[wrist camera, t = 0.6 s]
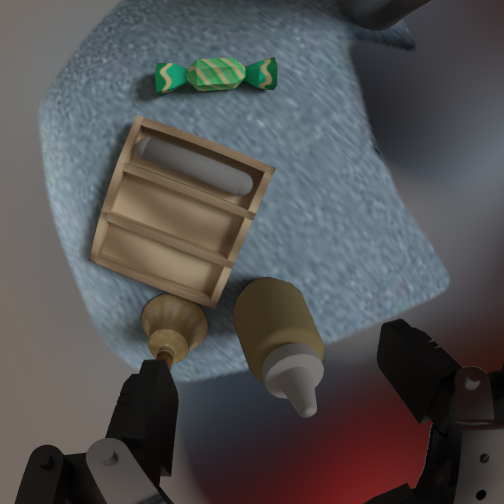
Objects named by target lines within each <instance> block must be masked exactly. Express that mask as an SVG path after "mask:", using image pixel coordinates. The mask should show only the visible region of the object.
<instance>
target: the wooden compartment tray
mask: <svg viewBox="0 0 504 504" xmlns="http://www.w3.org/2000/svg"><path fill="white" fill-rule="evenodd" d="M145 137H153V138H156V139H159V140H162V141H164V142H167V143H170V144H173V145H176V146H178V147H181V148H184V149H186V150H189V151H192V152H194V153H197V154H200V155H202V156H205V157H207V158H210V159H213V160H215V161H218V162H220V163H223V164H225V165H228V166H230V167H232V168H235V169H237V170H240V171H242V172H244V173H247V174H248V175H249V176H250V177H251V179H252V181H253V187H252V189H251V191H250V192H249V193H248V194H247V195H244V196H237V195H234V194H232V193H229V192H227V191H224V190H222V189H219V188H217V187H214V186H212V185H209V184H207V183H204V182H202V181H199V180H196V179H194V178H191V177H189V176H186V175H183V174H181V173H178V172H176V171H173V170H170V169H167V168H165V167H162V166H159V165H157V164H154V163H151V162H148V161H146V160H143V159H141V158H140V157H139V156H138V155H137V152H136V147H137V144H138V142H139V141H140V140H141V139H143V138H145ZM274 171H275V168H274V167H271V166H269V165H267V164H265V163H262V162H260V161H258V160H256V159H253V158H251V157H249V156H246V155H244V154H242V153H239V152H237V151H234V150H232V149H229V148H227V147H224V146H222V145H219V144H217V143H214V142H212V141H209V140H207V139H204V138H201V137H199V136H196V135H193V134H191V133H188V132H185V131H182V130H179V129H177V128H174V127H171V126H168V125H165V124H162V123H159V122H156V121H153V120H150V119H147V118H144V117H140V116H136V118H135V120H134V123H133V125H132V127H131V130H130V132H129V134H128V137H127V139H126V142H125V144H124V147H123V149H122V152H121V154H120V157H119V160H118V162H117V165H116V168H115V171H114V173H113V176H112V179H111V182H110V185H109V188H108V191H107V195H106V198H105V201H104V204H103V208H102V211H101V215H100V218H99V222H98V226H97V229H96V233H95V237H94V241H93V245H92V250H91V254H90V259H89V260H90V261H93V262H95V263H97V264H99V265H102V266H104V267H106V268H109V269H111V270H113V271H116V272H118V273H121V274H123V275H126V276H128V277H130V278H133V279H135V280H138V281H140V282H143V283H145V284H148V285H151V286H153V287H156V288H158V289H161V290H164V291H166V292H169V293H171V294H174V295H177V296H180V297H182V298H185V299H188V300H191V301H193V302H196V303H199V304H202V305H205V306H208V307H211V308H213V309H215V308H216V305H217V303H218V301H219V298H220V296H221V294H222V291H223V289H224V286H225V284H226V282H227V279H228V277H229V275H230V272H231V270H232V268H233V265H234V263H235V261H236V258H237V256H238V254H239V251H240V249H241V247H242V244H243V242H244V240H245V237H246V235H247V233H248V230H249V228H250V226H251V223H252V221H253V219H254V216H255V214H256V212H257V209H258V207H259V205H260V203H261V200H262V198H263V196H264V193H265V191H266V189H267V186H268V184H269V182H270V180H271V177H272V175H273V173H274Z"/></svg>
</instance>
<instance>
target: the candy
mask: <svg viewBox="0 0 504 504" xmlns="http://www.w3.org/2000/svg"><path fill="white" fill-rule="evenodd" d="M243 80H244V81H246V82H248V83H250V84H251V85H253V86H255V87H256V88H261V89H268V90H274V88H275V87H276V86H277V65H276V61H275V57H274V58H270V59H266V60H262V61H258V62H256V63H254V64H252V65H249V66H247V67H244V66H243V65H242V64H241V63H240V62H238V61H237V60H236V59H235V58H213V59H199V60H196V61H195V62H194V63H193V64H192V66H191V67H190V68H189V69H188V70H187V69H185V68H183V67H181V66H179V65H176V64H174V63H157V66H156V71H155V84H156V92H157V94H158V95H159V96H162V95H164V94H167V93H169V92H171V91H174V90H176V89H177V88H179V87H181V86H182V85H184V84H186V83H187V82H188V83H189V84H190V85H191V86H193V87H194V88H195V89H196V90H198V91H208V90H227V89H235V88H236V87H237V86H238V85H239V84H240V83H241V82H242V81H243Z"/></svg>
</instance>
